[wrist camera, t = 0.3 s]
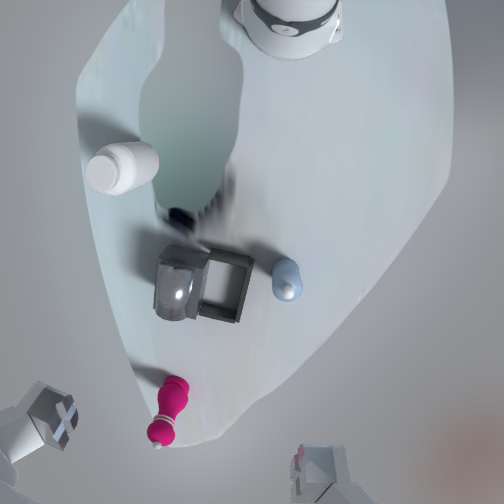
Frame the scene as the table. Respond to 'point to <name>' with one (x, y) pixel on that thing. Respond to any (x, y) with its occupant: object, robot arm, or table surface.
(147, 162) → the pill bottle
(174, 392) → the pepper mill
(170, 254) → the dark grey piece
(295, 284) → the light blue bottle
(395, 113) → the table surface
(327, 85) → the table surface
